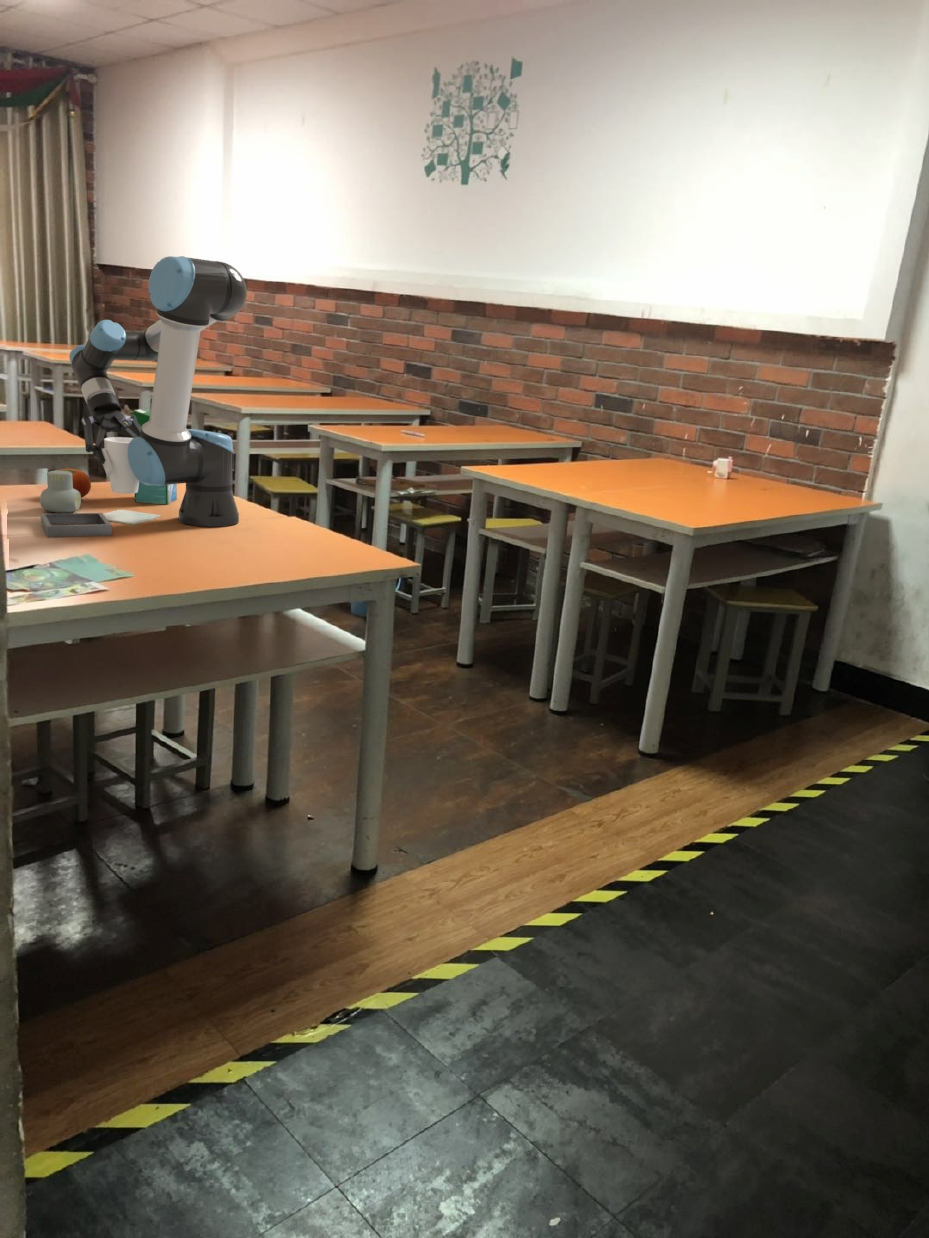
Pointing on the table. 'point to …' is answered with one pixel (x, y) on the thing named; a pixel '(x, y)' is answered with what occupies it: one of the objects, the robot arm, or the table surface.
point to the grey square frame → (75, 530)
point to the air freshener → (60, 493)
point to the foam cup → (120, 466)
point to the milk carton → (153, 492)
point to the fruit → (80, 481)
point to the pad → (129, 516)
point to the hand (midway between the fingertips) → (130, 472)
